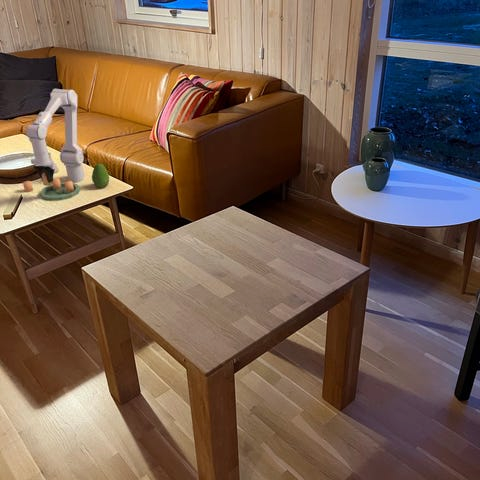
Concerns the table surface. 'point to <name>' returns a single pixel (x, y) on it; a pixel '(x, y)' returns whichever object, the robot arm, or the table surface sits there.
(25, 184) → the brown egg
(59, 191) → the tray
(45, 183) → the pale orange egg
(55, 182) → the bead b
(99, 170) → the avocado
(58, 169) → the flask
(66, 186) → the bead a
